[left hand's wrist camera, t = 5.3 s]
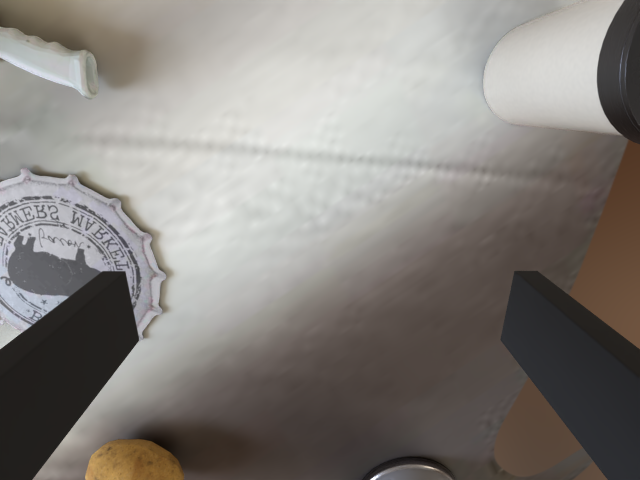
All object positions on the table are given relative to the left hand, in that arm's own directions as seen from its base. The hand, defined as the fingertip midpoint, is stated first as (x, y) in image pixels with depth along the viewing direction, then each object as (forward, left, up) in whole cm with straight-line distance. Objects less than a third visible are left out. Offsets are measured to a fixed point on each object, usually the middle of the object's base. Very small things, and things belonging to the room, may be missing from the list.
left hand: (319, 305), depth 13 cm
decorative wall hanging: (-15, +31, -28) cm, 44 cm away
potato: (-40, +25, -28) cm, 55 cm away
